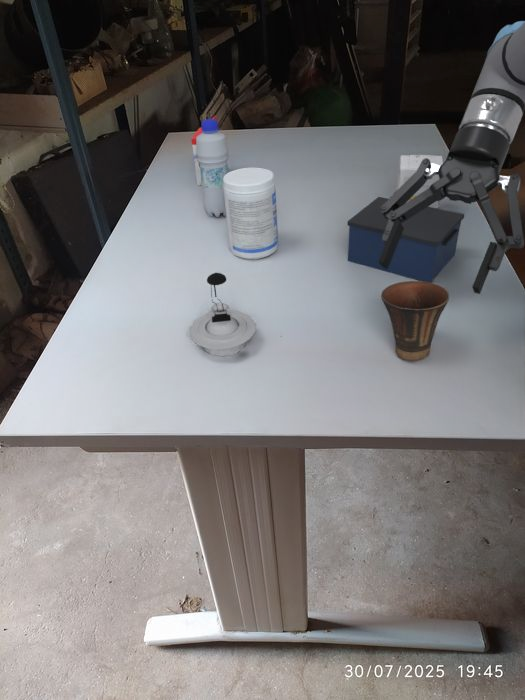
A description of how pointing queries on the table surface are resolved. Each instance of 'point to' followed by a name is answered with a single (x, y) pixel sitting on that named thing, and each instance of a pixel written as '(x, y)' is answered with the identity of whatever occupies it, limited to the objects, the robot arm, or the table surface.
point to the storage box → (405, 241)
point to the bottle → (212, 166)
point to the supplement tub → (251, 212)
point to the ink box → (410, 166)
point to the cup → (414, 315)
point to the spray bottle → (197, 165)
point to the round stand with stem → (222, 326)
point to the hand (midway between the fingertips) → (427, 277)
